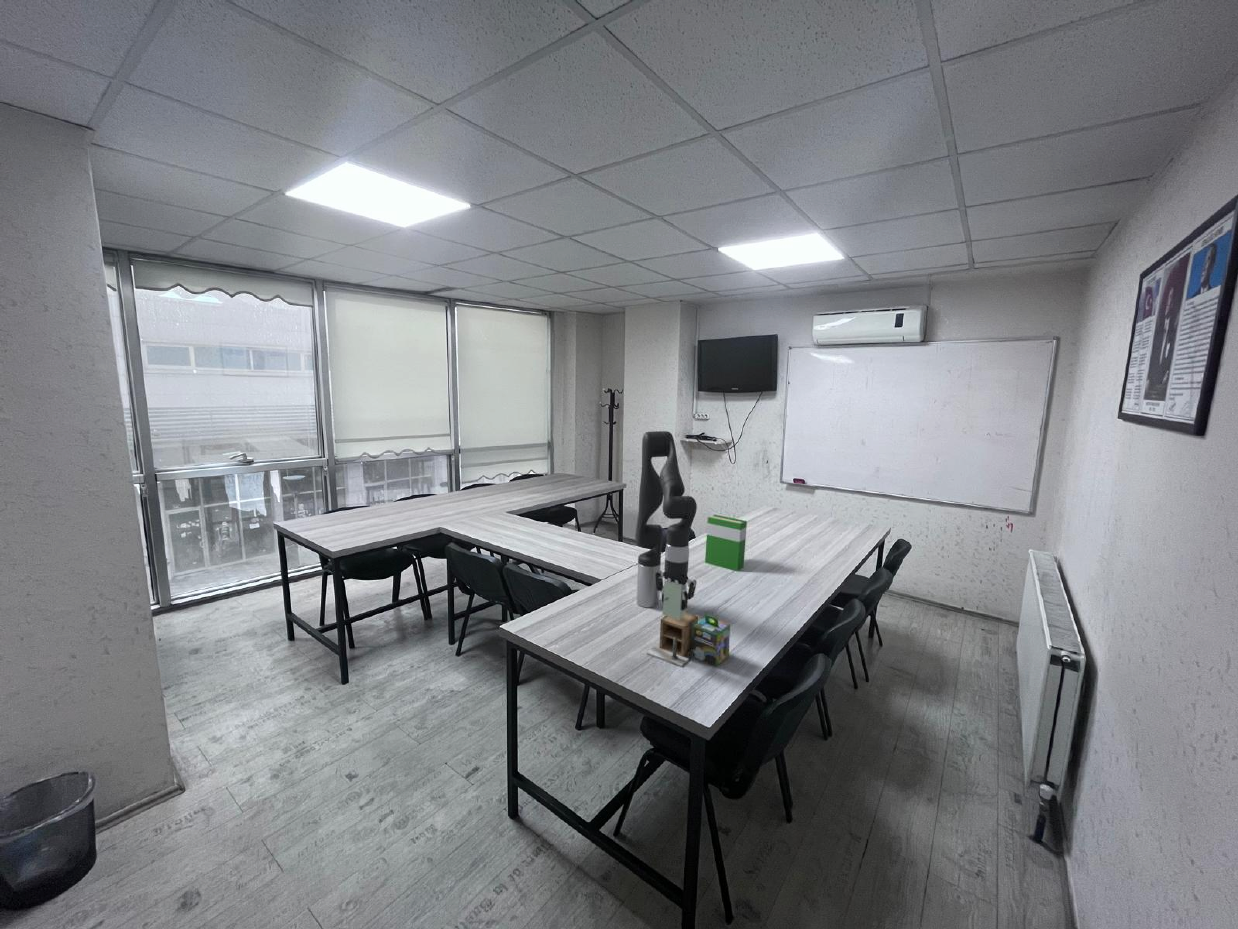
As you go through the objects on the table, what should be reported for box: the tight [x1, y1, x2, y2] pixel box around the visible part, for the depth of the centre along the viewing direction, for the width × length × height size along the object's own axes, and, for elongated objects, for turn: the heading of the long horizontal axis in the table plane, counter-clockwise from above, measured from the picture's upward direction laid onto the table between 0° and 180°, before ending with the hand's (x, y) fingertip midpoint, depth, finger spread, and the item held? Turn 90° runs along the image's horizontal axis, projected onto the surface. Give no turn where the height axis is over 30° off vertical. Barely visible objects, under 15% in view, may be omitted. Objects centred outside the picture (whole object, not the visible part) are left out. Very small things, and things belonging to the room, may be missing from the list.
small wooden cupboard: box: [646, 611, 699, 668], centre depth 167 cm, size 15×13×11 cm
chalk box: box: [692, 613, 731, 667], centre depth 164 cm, size 9×9×15 cm
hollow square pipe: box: [662, 578, 687, 620], centre depth 160 cm, size 4×6×12 cm
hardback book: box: [704, 514, 748, 572], centre depth 248 cm, size 18×7×24 cm, turn 52°
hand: (674, 606), depth 160 cm, fingers closed on hollow square pipe, 6 cm apart
